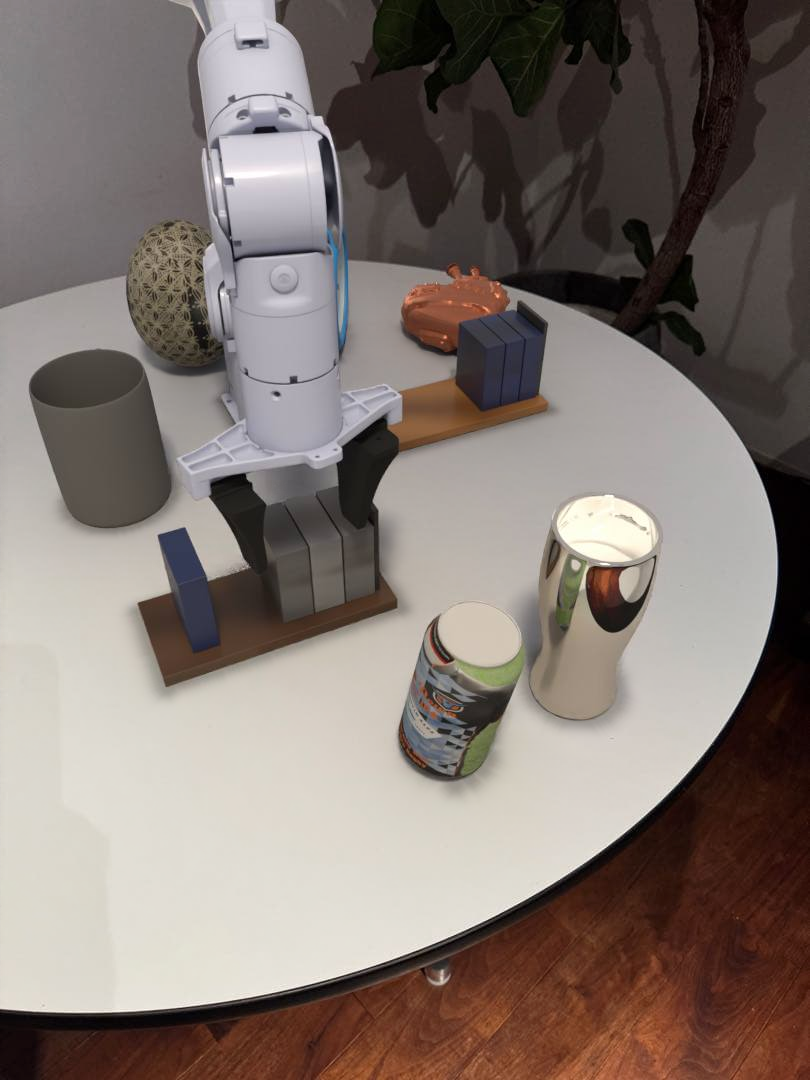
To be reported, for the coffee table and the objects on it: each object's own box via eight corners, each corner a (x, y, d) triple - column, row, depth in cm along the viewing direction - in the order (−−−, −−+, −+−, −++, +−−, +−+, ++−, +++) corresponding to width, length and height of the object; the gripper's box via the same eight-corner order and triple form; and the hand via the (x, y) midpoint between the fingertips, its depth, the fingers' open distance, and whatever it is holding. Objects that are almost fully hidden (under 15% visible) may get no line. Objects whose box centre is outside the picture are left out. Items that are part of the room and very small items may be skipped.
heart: (530, 305, 90) (486, 248, 101) (418, 326, 89) (385, 266, 100) (529, 356, 94) (487, 295, 105) (421, 377, 93) (390, 313, 103)
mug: (173, 522, 74) (146, 403, 66) (61, 536, 73) (19, 416, 64) (171, 430, 84) (147, 317, 76) (72, 441, 82) (37, 327, 74)
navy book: (173, 603, 66) (157, 534, 61) (199, 595, 66) (185, 526, 62) (193, 654, 62) (177, 585, 57) (220, 645, 63) (206, 576, 58)
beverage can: (394, 711, 60) (395, 589, 52) (500, 705, 60) (517, 583, 52) (402, 793, 55) (404, 673, 47) (517, 785, 56) (538, 665, 48)
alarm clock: (339, 375, 91) (333, 236, 81) (281, 373, 92) (267, 234, 81) (350, 314, 101) (345, 183, 91) (297, 313, 101) (286, 182, 91)
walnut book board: (139, 611, 66) (114, 522, 60) (356, 543, 72) (353, 456, 66) (165, 687, 61) (140, 598, 55) (397, 607, 67) (398, 519, 61)
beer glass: (560, 741, 58) (594, 583, 48) (504, 668, 63) (525, 509, 52) (642, 702, 60) (692, 544, 50) (583, 635, 65) (617, 477, 55)
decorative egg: (265, 376, 91) (249, 236, 81) (152, 399, 88) (121, 256, 78) (237, 324, 99) (219, 192, 89) (132, 344, 96) (102, 208, 86)
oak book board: (350, 412, 86) (346, 330, 80) (506, 371, 92) (514, 292, 86) (383, 456, 81) (382, 372, 75) (547, 410, 87) (559, 329, 81)
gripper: (202, 432, 44) (236, 622, 52) (433, 351, 50) (428, 532, 59) (146, 374, 48) (186, 559, 57) (365, 307, 55) (370, 482, 63)
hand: (306, 542), depth 58 cm, fingers open, 7 cm apart
